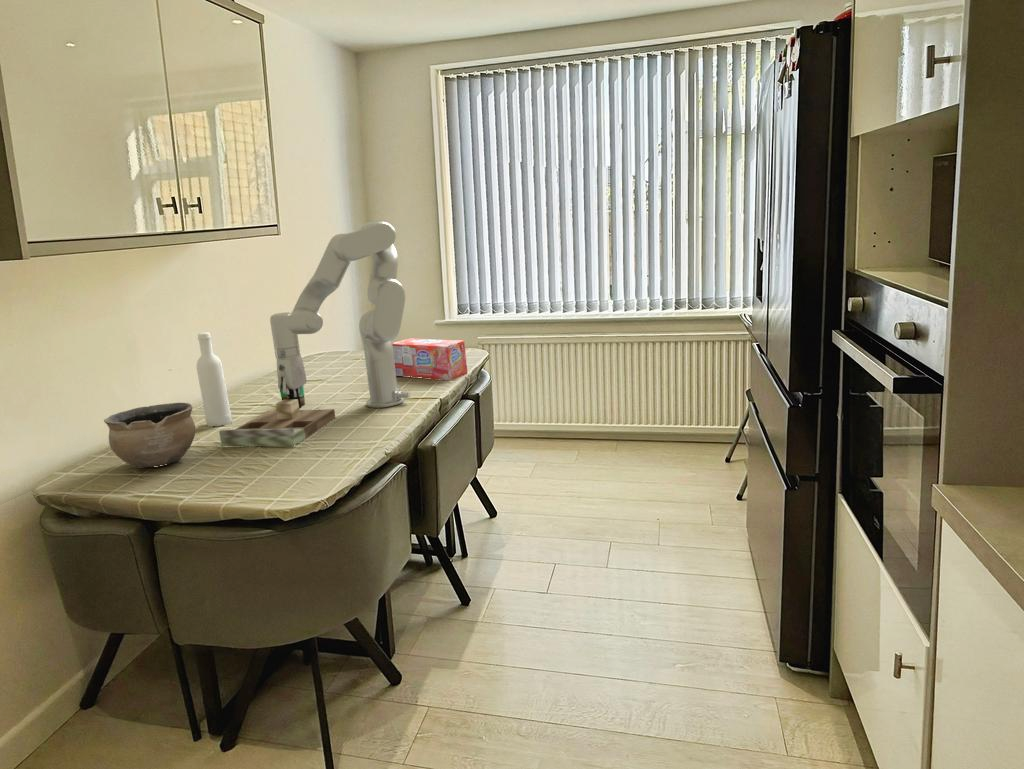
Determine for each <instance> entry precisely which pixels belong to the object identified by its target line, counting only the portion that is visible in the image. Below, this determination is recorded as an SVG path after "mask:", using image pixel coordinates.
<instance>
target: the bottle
mask: <svg viewBox="0 0 1024 769" xmlns="http://www.w3.org/2000/svg"><path fill="white" fill-rule="evenodd" d="M197 340H198V343H199V350H200V354H201V355H200V356H199V358H198V359H197V362H196V372H197V377H198V384H199V389H200V393H201V399H202V405H203V410H204V417H205V422H206V426H207V425H208V426H207V427H209V426H217V427H222V426H221V425H223V426H225V425H226V424H227V425H229V424H231V423H232V422H233V420H232V412H231V408H230V403H229V396H228V390H227V385H226V380H225V379H226V378H225V373H224V372H225V371H224V367H223V363H222V361H221V359H220V357H219V356H218V355H216V354H215V353H214V350H213V345H212V336H211V332H208V331H206V332H200V333H198V334H197Z"/></svg>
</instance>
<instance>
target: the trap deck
mask: <svg viewBox="0 0 1024 769" xmlns="http://www.w3.org/2000/svg"><path fill="white" fill-rule="evenodd" d="M299 410H300V415H299V416H297V417H295V418H294V419H278V417H277V411H276V410H268V411H266V412H264V413H262V414H260V415H258V416H257V417H255V418H253V419H251V420H249V421H247V422H246V423H243V424H242V425H241V426H239V427H237V428H235V429H219V437H220V444H221V447H222V446H240V447H239V448H242V447H241V446H246V447H245V448H255V447H254V446H278V447H295V446H294V445H296V444H297V443H298V444H300V443H301V442H303V441H304V440H306V439H307V438H309V437H310V436H312V435H313V434H314V432H315V431H316V432H317V430H318V429H319V430H320V429H322V428H324V427H325V426H327V425H328V424H329V423H331V422H332V421H333V419H334V420H335V419H336V412H335V409H334V408H330V409H329V408H327V409H326V408H325V409H323V408H322V409H299ZM330 421H331V422H330ZM327 423H328V424H327ZM324 425H325V426H324ZM321 427H322V428H321ZM319 430H318V431H319ZM316 432H315V433H316ZM312 433H313V434H312ZM311 434H312V435H311ZM309 435H310V436H309ZM308 436H309V437H308ZM306 437H307V438H306ZM305 438H306V439H305ZM303 439H304V440H303ZM302 440H303V441H302ZM300 441H301V442H300ZM299 442H300V443H299ZM298 444H297V445H298ZM292 445H293V446H292ZM297 445H296V446H297ZM247 446H249V447H247ZM251 446H252V447H251Z"/></svg>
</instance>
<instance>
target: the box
mask: <svg viewBox="0 0 1024 769" xmlns="http://www.w3.org/2000/svg"><path fill="white" fill-rule="evenodd" d="M392 346H393V352H394V361H395V370H396V376H410V377H411V376H412V377H422V378H431V379H430V380H434V379H442V380H441V381H452V380H454V379H456V378H458V377H461V376H464V375H466V374H468V365H467V364H468V363H467V354H466V353H467V352H466V341H465V340H457V339H456V340H455V339H432V338H431V339H429V338H412V337H411V338H406V339H403V340H398V341H395V342H392Z"/></svg>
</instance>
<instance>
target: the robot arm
mask: <svg viewBox="0 0 1024 769" xmlns="http://www.w3.org/2000/svg"><path fill="white" fill-rule="evenodd" d="M396 238H397V232H396V229H395V228H394V226H393V225H392V224H391V223H389V222H386V221H370V222H367V223H364V224H363V225H362V226H361V228H360V229H359V230H355V231H352V232H348V233H338V234H335V235H334V236H332V237H331V239H330V240H329V242H328V244H327V246H326V248H325V251H324V253H323V254H322V257H321V259H320V261H319V263H318V266H317V268H316V270H315V272H314V274H313V275H312V277H311V278H310V280H309V281H308V282H307V284H306V285H305V287H304V288H303V290H302V291H301V293H300V295H299V297H298V298H297V300H296V303H295V305H294V307H293V310H292V312H277V313H273V314H272V315H271V316H270V319H269V322H270V323H269V324H270V328H271V335H272V342H273V349H274V355H275V360H276V375H277V376H276V377H277V384H278V383H279V388H280V389H281V390H283V394H284V395H287V397H288V399H298V403H299V410H301V409H302V406H301V401H300V389H301V387H302V386H303V385H304V386H305V385H306V384H307V374H306V371H305V366H304V365H305V364H304V360H303V357H302V355H301V350H300V349H301V348H300V343H299V337H298V336H299V335H313V334H316V333H318V332H319V331H320V330H321V329H322V328H323V326H324V319H323V317H322V315H321V314H320V313H319V310H320V308H321V305H322V304H324V301H325V300H326V299H327V297H328V296H330V295H331V294H333V293H334V292H335V291H336V290H337V289H339V287H340V285H341V283H342V280H343V279H344V277H345V275H346V272H347V270H348V269H349V266H350V264H351V262H353V261H357V260H358V261H359V260H360V259H363V258H367V257H369V256H370V257H371V266H370V268H371V269H370V274H369V280H368V285H367V286H368V287H367V299H368V301H369V302H370V303H371V304H372V305H374V309H372V310H368V311H365V312H364V313H363V314H362V315H361V317H360V319H359V324H358V328H359V334H360V337H361V341H362V345H363V351H364V360H365V368H366V375H367V383H368V390H369V399H368V400H366V402H365V404H366V407H370V408H378V409H379V408H387V407H388V408H389V407H393V406H397V405H401V404H402V403H403V402H404V399H410V397H411V394H410V392H409V391H408V390H407V391H402V389H401V387H398V379H397V377H396V370H395V361H394V352H393V346H392V343H393V342H392V341H393V340H395V338H397V337H398V335H399V334H400V330H401V326H402V322H403V314H404V309H405V303H406V291H405V288H404V286H403V284H402V283H401V282H400V281H398V280H397V276H398V270H399V269H398V267H399V256H398V252H397V249H396V247H395V245H394V243H395V241H396ZM279 388H278V389H279ZM280 389H279V390H280Z"/></svg>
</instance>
